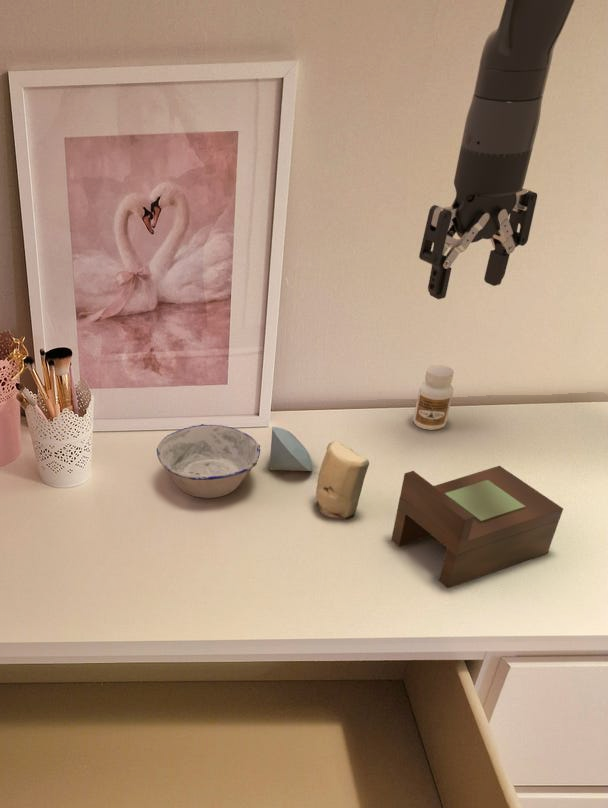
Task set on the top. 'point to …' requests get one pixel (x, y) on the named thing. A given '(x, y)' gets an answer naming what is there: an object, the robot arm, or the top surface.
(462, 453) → the top surface
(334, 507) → the beige rounded block
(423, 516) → the shelf
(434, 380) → the pill bottle
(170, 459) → the bowl
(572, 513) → the top surface
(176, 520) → the top surface
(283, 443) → the gemstone
